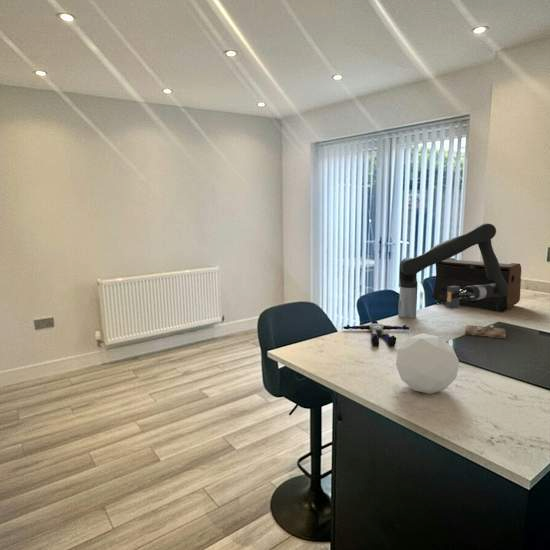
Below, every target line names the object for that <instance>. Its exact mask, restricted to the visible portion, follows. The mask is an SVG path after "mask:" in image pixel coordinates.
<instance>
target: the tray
mask: <svg viewBox="0 0 550 550" xmlns="http://www.w3.org/2000/svg"><path fill="white" fill-rule="evenodd" d="M467 334H472V335H471V336H475V335H483V336H482V337H484V336H490V337H489V338H493V337H497V338H496V339H501V338H505V339H504V340H506V339H507V335H506V328H501V327H494V324H489V326H483V325H473V324H472V325H471V324H466V325H465V329H464V335H467Z"/></svg>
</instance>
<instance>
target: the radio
mask: <svg viewBox="0 0 550 550" xmlns="http://www.w3.org/2000/svg"><path fill="white" fill-rule="evenodd" d="M499 266H500V270H501V274H502V276H503V277H504V279H505V281H506V283H507V285H508V288H509V292H508V294H507V295H506V296H496V297H489V298H482V299H478V300H471V301H468V300H466V299H460V300H459V307H464V308H465V307H467V308H472V309H478V310H485V311H491V312H498V313H504V312H506V311H507V310H509V309H511V308H512V307H513V306H515V305H517V304H519V302H520V301H521V287H522V286H521V283H522V265H521V263H518V262H517V263H515V262H511V263H500V262H499ZM487 284H495V282H494V281H493V280H490V279H488V278H487V275H486V271H485V266H484V262H483V261H475V260H474V261H473V260H461V259H456V258H452V257H450V258H448V259H446V260H443V261H441V262H438V263H436V264H435V281H434V286H433V294H432V299H433V300H434V301H436V302H437V303H443V304H446V300H447V297H445V293H447V286H459V287H460V290H463V289H464V287H466V286H473V285H487Z"/></svg>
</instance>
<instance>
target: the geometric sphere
mask: <svg viewBox="0 0 550 550" xmlns="http://www.w3.org/2000/svg"><path fill="white" fill-rule="evenodd" d="M459 364H460V361H459V358H458V357H457V354H456V352H455V349H454V348H453V346H452V345H451V344H450V343H448V342H447V341H445V340H443V338H440V336H436V335H432V334H428V333H424V332H422V333H419V334H416V335H413V336H411V337H408V338H407V339H406V340H405V341H404V342H403V343H402V344H401V345H400V346H399V347H398V348H397V352H396V362H395V366H396V369H397V371H398V374H399V378H400V380H401V381H403V383H405V384H406V385H407V386H408V387H409V388H411V389H412V390H413V391H416V392H419V393H423V394H428V395H432V394H434V393H438V392H441V391H444V390H446V389H448V388H449V386H451V384H452V383H453V382H454V381H455V380H456V379H457V377H458V371H459V366H460V365H459Z"/></svg>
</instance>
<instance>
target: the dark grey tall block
mask: <svg viewBox="0 0 550 550" xmlns="http://www.w3.org/2000/svg"><path fill="white" fill-rule="evenodd" d="M458 293H460V287H459V286H447V300H446V303H445V308H447V309H450V310H454V309H459V308H460V306H459V300H460V299H459V298H455V299H452V298H451V296H452V294H458Z"/></svg>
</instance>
